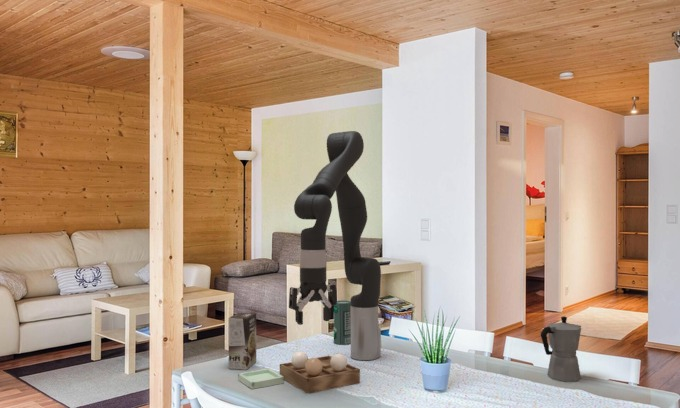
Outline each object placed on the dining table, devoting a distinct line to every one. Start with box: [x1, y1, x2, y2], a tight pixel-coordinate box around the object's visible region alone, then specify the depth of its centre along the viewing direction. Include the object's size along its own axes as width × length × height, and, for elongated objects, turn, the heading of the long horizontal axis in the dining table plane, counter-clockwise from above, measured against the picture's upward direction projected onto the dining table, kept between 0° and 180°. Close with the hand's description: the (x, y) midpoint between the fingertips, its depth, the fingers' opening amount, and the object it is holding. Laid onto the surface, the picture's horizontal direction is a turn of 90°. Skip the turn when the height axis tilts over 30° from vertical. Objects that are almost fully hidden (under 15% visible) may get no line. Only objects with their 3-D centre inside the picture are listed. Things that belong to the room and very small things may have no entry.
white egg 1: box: [290, 351, 309, 369], centre depth 176 cm, size 5×5×5 cm
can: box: [333, 299, 351, 346], centre depth 218 cm, size 6×6×15 cm
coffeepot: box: [540, 315, 582, 383], centre depth 176 cm, size 15×9×18 cm, turn 116°
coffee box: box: [228, 312, 257, 371], centre depth 190 cm, size 9×6×16 cm
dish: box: [237, 368, 285, 390], centre depth 173 cm, size 10×10×2 cm
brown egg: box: [305, 357, 323, 376], centre depth 169 cm, size 5×5×5 cm
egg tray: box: [279, 355, 361, 394], centre depth 175 cm, size 17×17×4 cm
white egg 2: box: [330, 353, 348, 371], centre depth 173 cm, size 5×5×5 cm
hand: (313, 322), depth 169 cm, fingers open, 8 cm apart
